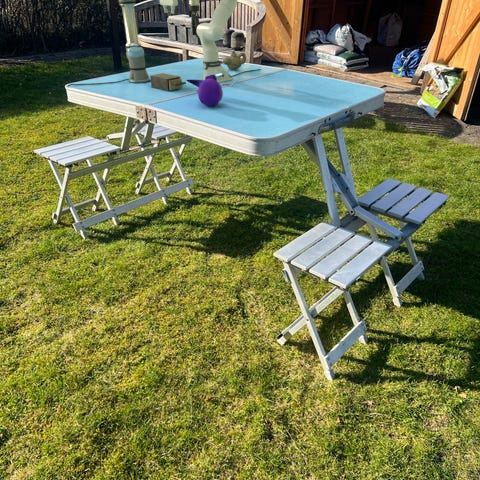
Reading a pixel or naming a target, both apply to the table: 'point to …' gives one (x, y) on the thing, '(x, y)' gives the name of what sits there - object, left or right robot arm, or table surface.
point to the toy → (208, 90)
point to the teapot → (234, 60)
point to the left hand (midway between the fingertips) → (196, 36)
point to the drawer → (176, 84)
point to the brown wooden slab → (162, 81)
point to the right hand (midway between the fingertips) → (169, 13)
